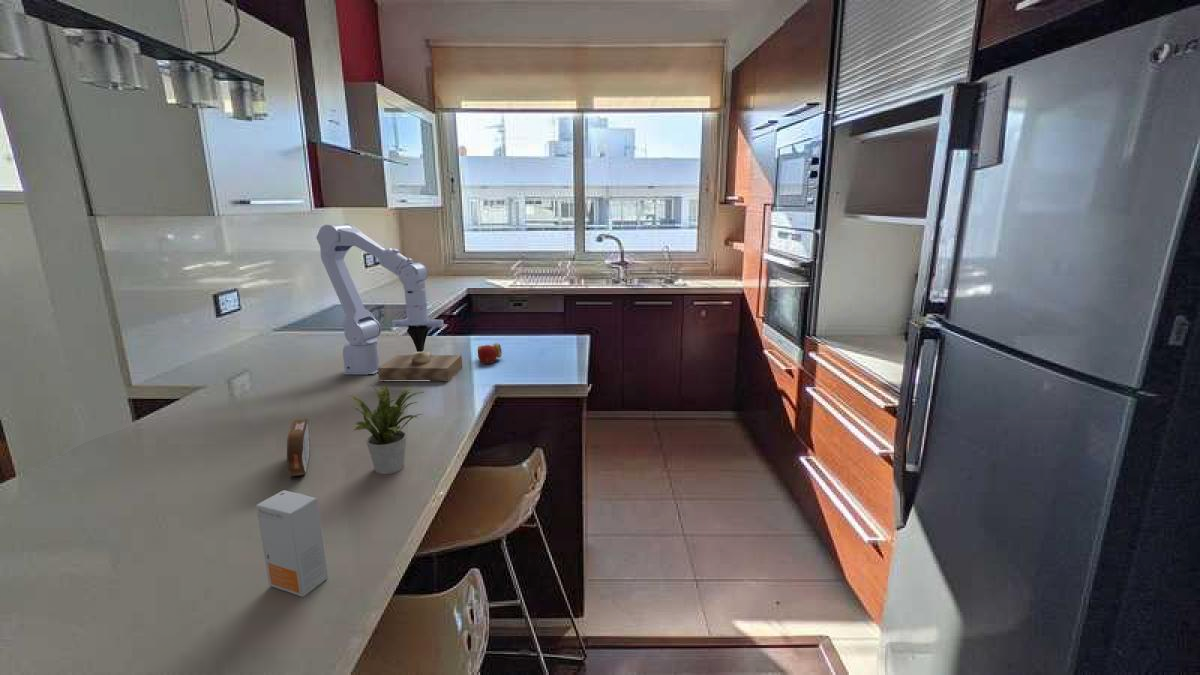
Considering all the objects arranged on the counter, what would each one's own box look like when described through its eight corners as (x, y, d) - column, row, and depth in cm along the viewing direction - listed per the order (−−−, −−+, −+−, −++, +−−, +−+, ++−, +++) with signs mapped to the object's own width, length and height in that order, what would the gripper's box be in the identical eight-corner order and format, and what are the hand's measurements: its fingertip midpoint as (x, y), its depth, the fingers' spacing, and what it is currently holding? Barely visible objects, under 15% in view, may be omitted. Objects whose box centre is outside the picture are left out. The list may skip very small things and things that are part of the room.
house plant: (447, 468, 103) (441, 386, 99) (375, 495, 93) (365, 405, 90) (412, 446, 113) (405, 370, 109) (343, 468, 103) (332, 386, 99)
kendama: (483, 355, 188) (471, 362, 170) (486, 337, 187) (474, 343, 169) (505, 359, 188) (496, 367, 170) (508, 341, 188) (499, 347, 170)
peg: (410, 375, 159) (408, 355, 158) (417, 370, 164) (415, 351, 163) (427, 375, 159) (425, 355, 158) (434, 370, 164) (432, 351, 163)
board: (379, 381, 155) (377, 368, 155) (398, 367, 169) (397, 355, 168) (448, 381, 155) (447, 368, 154) (462, 367, 168) (461, 355, 167)
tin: (297, 452, 111) (291, 413, 109) (314, 449, 112) (308, 410, 110) (288, 485, 97) (281, 441, 95) (308, 482, 98) (301, 438, 97)
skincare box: (268, 587, 71) (253, 504, 68) (296, 567, 75) (284, 488, 72) (302, 599, 69) (289, 513, 66) (330, 578, 73) (318, 496, 70)
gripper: (385, 307, 153) (390, 354, 157) (436, 307, 153) (440, 354, 156) (396, 303, 160) (400, 348, 163) (444, 303, 160) (448, 348, 163)
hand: (420, 350), depth 160 cm, fingers closed
